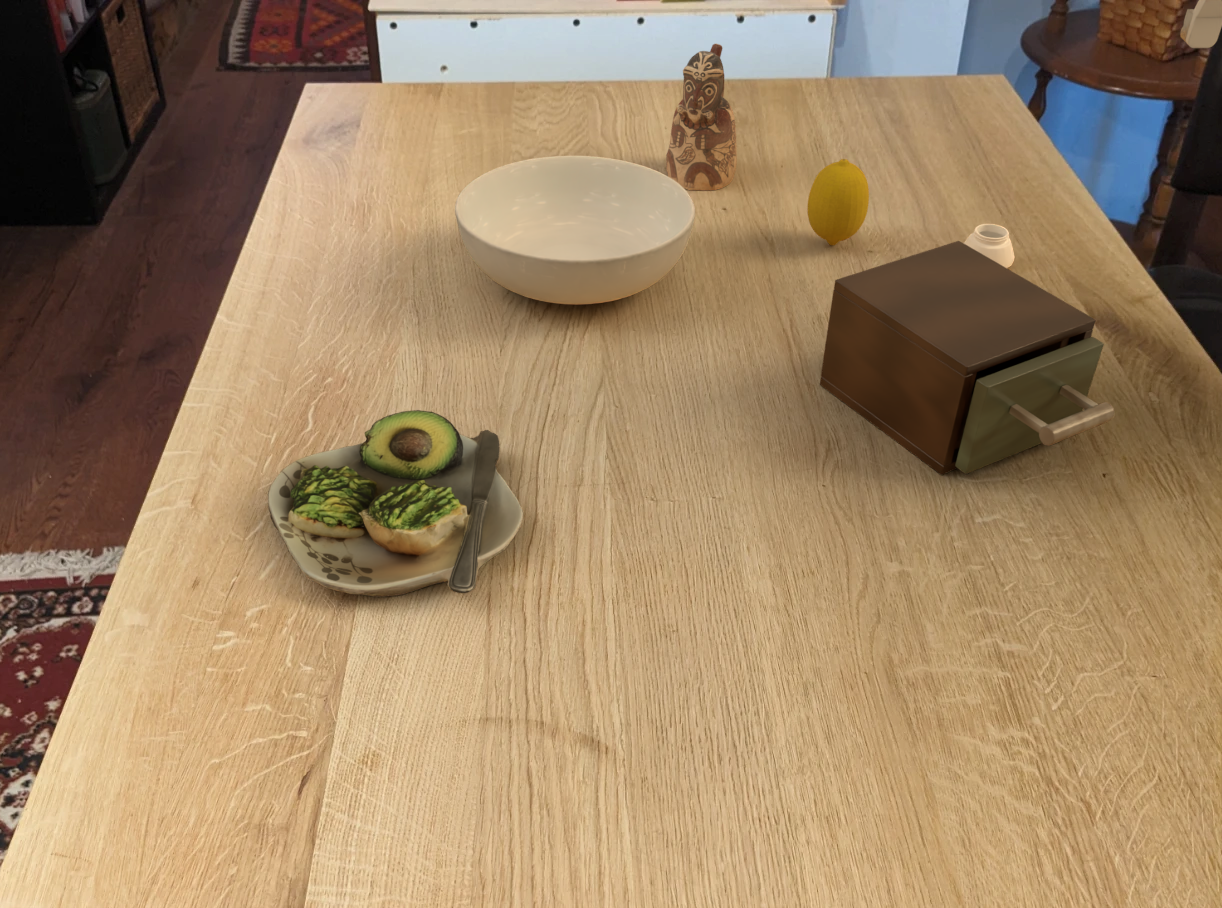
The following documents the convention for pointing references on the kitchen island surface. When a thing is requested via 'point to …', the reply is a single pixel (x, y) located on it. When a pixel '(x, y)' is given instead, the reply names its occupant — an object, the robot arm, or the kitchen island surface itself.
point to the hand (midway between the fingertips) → (1168, 18)
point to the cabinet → (934, 341)
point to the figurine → (703, 127)
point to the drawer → (1030, 403)
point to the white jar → (992, 243)
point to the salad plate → (397, 508)
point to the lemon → (838, 201)
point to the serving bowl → (575, 227)
